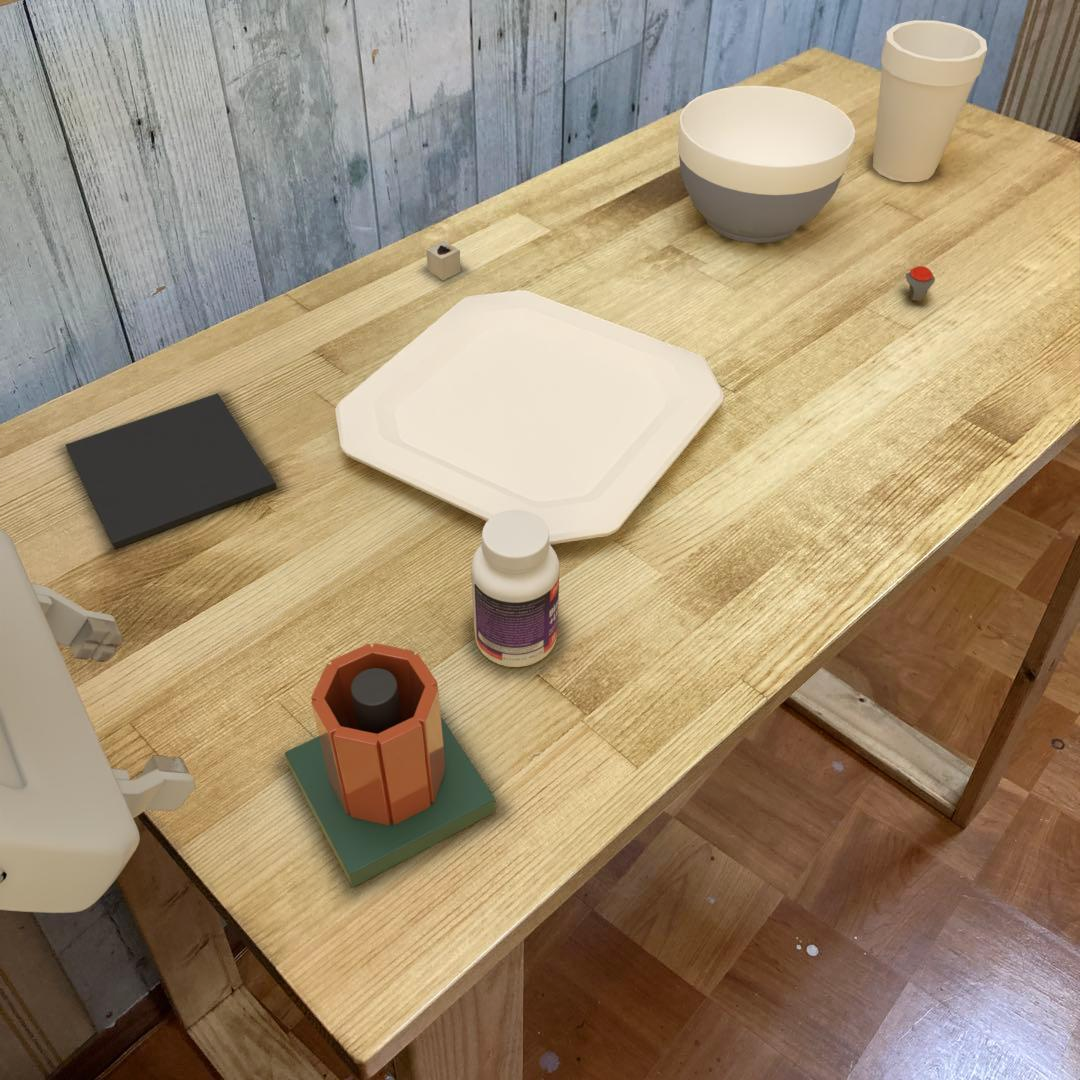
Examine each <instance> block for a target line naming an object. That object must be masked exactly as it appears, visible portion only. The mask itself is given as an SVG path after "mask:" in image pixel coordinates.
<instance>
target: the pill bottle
mask: <svg viewBox="0 0 1080 1080" xmlns="http://www.w3.org/2000/svg"><path fill="white" fill-rule="evenodd" d="M470 567H471V568H470V569H471V570H470V571H471V573H470V574H471V575H470V576H471V592H472V594H471V595H472V613H473V631H474V639H475V643H476V646H477V648H478V649H479V651H480V652H481V654H483V656H485V657H486V658H487V659H488V660H489V661H491V662H492V663H495V664H497V665H500V666H503V667H507V668H508V667H509V668H520V667H527V666H531V665H534V664H535V663H536V664H537V663H538V662H540V661H541V660H543V659H544V658H546V657H547V656H548V655H549V654H550V653H551V652H552V651H553V649H554V647H555V645H556V642H557V638H558V626H559V598H560V573H561V571H560V569H561V568H560V561H559V557H558V555H557V553H556V551H555V550H554V548H553V546H552V545H550V544H549V530H548V527H547V525H546V523H545V522H544V521H543V520H542V519H541V518H540V517H538V516H537V515H535V514H533V513H530V512H528V511H522V510H509V511H504V512H501V513H498V514H496V515H494V516H493V517H491V518H490V519H489V520H488V521H485V523H484V525H483V528H482V532H481V543H480V545H479V546H478V547H477V548H476V551H475V552H474V554H473V556H472V559H471V566H470Z"/></svg>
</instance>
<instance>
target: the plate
mask: <svg viewBox="0 0 1080 1080" xmlns="http://www.w3.org/2000/svg"><path fill="white" fill-rule="evenodd" d="M724 400H725V392H723V390H722V387H721V386H720V384H719V382H718V380H717V378H716V376H715V374H714V372H713V371H712V368H711V367H710V365H709V363H708V361H707V360H706V358H704V357H703V356H702V355H700V354H698V353H696V352H693V351H690V350H687V349H685V348H682V347H679V346H677V345H674V344H672V343H669V342H666V341H664V340H661V339H658V338H656V337H652V336H650V335H648V334H644V333H642V332H640V331H637V330H634V329H631V328H628V327H625V326H623V325H620V324H617V323H615V322H613V321H609V320H607V319H605V318H601V317H599V316H597V315H593V314H591V313H588V312H585V311H582V310H581V309H577V308H575V307H572V306H569V305H567V304H563V303H562V302H558V301H556V300H553V299H551V298H547V297H545V296H542V295H539V294H537V293H534V292H531V291H529V290H523V289H518V290H509V291H501V292H493V293H485V294H483V293H482V294H476V295H469V296H466V297H464V298H462V299H461V300H459V301H458V302H457V303H456V304H455V305H453V306H452V307H450V309H448V310H447V311H446V312H445V313H443V315H441V316H439V318H437V319H436V320H435V321H434V322H433V323H431V324H430V325H429V326H428V327H427V328H425V330H423V331H422V332H421V333H420V334H419V335H418V336H416V337H415V338H414V339H413V340H412V341H410V342H409V343H407V345H405V346H404V347H403V348H402V349H400V351H398V352H397V353H396V354H394V355H393V356H392V357H391V358H390V359H389V360H387V361H386V362H385V363H384V364H382V366H380V367H378V368H377V369H376V370H375V371H374V372H373V373H371V375H369V376H368V377H367V378H366V379H364V380H363V381H362V382H361V383H360V384H359V385H357V386H356V387H355V388H353V390H351V391H350V392H349V393H348V394H346V396H344V397H343V398H342V399H340V400H339V402H338V403H337V404H336V406H335V409H334V414H335V420H336V426H337V434H338V440H339V441H338V442H339V448H340V450H341V451H342V452H343V454H345V456H346V457H347V458H350V459H352V460H355V461H357V462H359V463H361V464H363V465H365V466H368V467H369V468H372V469H373V470H376V471H378V472H380V473H383V474H385V475H387V476H389V477H391V478H393V479H395V480H398V481H400V482H401V483H404V484H406V485H408V486H411V487H412V488H414V489H417V490H418V491H421V492H423V493H425V494H427V495H429V496H432V497H434V498H436V499H439V500H440V501H442V502H444V503H447V504H449V505H450V506H453V507H455V508H457V509H460V510H462V511H463V512H466V513H468V514H470V515H472V516H475V517H476V518H478V519H481V520H483V521H485V522H487V521H488V520H489V519H490V518H491V517H493V516H494V515H496V514H498V513H501V512H504V511H509V510H522V511H528V512H530V513H533V514H535V515H537V516H538V517H540V518H541V519H542V520H543V521H544V522H545V523H546V525H547V527H548V530H549V544H550V546H552V545H557V544H565V543H571V542H577V541H584V540H589V539H597V538H602V537H603V538H604V537H609V536H611V535H612V534H614V533H617V532H618V531H619V530H620V528H621V527H622V526H623V525H624V524H625V522H626V521H627V520H628V518H629V517H630V516H631V515H632V514H633V513H634V512H635V510H636V509H637V508H638V506H639V505H640V504H641V503H642V502H643V501H644V500H645V498H646V497H647V496H648V494H649V493H650V492H651V491H652V490H653V488H655V486H656V485H657V483H658V482H659V481H660V480H661V479H662V478H663V476H664V475H665V474H666V472H667V471H668V470H669V469H670V468H671V467H672V465H674V463H675V462H676V461H677V459H678V458H679V457H680V455H681V454H682V453H683V452H684V451H685V450H686V448H687V447H688V446H689V444H691V442H692V441H693V440H694V439H695V437H696V436H697V435H698V434H699V433H700V431H702V429H703V427H704V426H705V425H706V424H707V423H708V422H709V420H710V419H711V418H712V417H713V416H714V414H716V412H717V411H718V409H719V408H720V407H721V406H722V404H723V403H724Z"/></svg>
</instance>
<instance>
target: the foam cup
mask: <svg viewBox="0 0 1080 1080" xmlns="http://www.w3.org/2000/svg"><path fill="white" fill-rule="evenodd" d="M987 53H988V45H987V40H986V38H984V37H982V36H981V35H980V34H979V33H978V32H977V31H975V30H972V29H970V28H967V27H964V26H962V25H959V24H957V23H950V22H945V21H940V20H910V21H905V22H900V23H896V24H895V25H893V26H892V27H890V28H889V29H888V30H886V34H885V38H884V42H883V45H882V50H881V55H880V58H881V59H880V63H881V74H880V85H879V94H878V95H879V96H878V103H877V104H878V105H877V114H876V124H875V134H874V143H873V153H872V155H873V156H872V157H873V158H872V159H873V160H872V168H873V169H874V170H875V171H876V172H877V174H878V175H880V176H883V177H885V178H887V179H888V180H892V181H897V182H901V183H919V182H924V181H927V180H929V179H930V178H931V177H933V175H935V173H936V169H937V168H938V166H939V164H940V161H941V159H942V157H943V155H944V153H945V150H946V148H947V145H948V143H949V141H950V139H951V137H952V135H953V132H954V129H955V128H956V125H957V122H958V120H959V119H960V117H961V113H962V111H963V109H964V107H965V104H966V102H967V100H968V98H969V95H970V94H971V91H972V88H973V86H974V84H975V81H976V80H977V78H978V77H979V75H981V72H982V69H983V66H984V62H985V60H986V55H987Z"/></svg>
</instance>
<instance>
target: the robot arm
mask: <svg viewBox="0 0 1080 1080" xmlns="http://www.w3.org/2000/svg"><path fill="white" fill-rule="evenodd" d="M124 641H125V639H124V636H123V634H122V631H121V629H120V627H119V625H118V622H117V621H116V618H115V617H114V616H113V615H111V614H110V613H109V614H107V613H103V612H98V611H93V610H88V609H84V607H83V606H80V605H79V604H78V603H76V602H74V601H73V600H71V599H69V598H67V597H66V596H64V595H62V594H60V593H59V592H57V591H55V590H53V589H52V588H50V587H48V586H47V585H43V584H40V583H34V582H31V580H30V578H29V575H28V573H27V571H26V568H25V566H24V564H23V562H22V560H21V557H20V555H19V553H18V551H17V548H16V546H15V544H14V540H13V539H12V537H11V535H9V533H8V532H6V531H5V530H3V529H2V528H0V911H9V912H10V911H11V912H26V913H44V914H45V913H48V914H69V913H79V912H82V911H84V910H87V909H88V908H91V906H93V905H94V904H95V903H96V902H97V901H99V899H101V898H102V896H103V895H105V893H106V892H107V891H108V890H109V889H110V888H111V886H112V885H113V884H114V882H115V881H116V880H117V879H118V877H119V876H120V874H121V873H122V871H123V870H124V869H125V867H126V866H127V864H128V863H129V861H130V860H131V858H132V856H133V855H134V854H135V852H136V850H137V848H138V846H139V844H140V839H141V836H140V831H139V829H138V826H137V824H136V821H135V818H136V817H138V816H139V815H141V814H142V813H144V811H158V812H159V811H160V812H161V811H162V812H171V811H175V810H178V809H179V808H181V807H183V805H184V804H185V803H186V801H187V800H188V799H189V797H190V796H191V795H192V793H193V792H194V791H195V790H196V787H197V786H196V782H195V780H194V778H193V776H192V775H191V772H190V770H189V768H188V767H187V764H186V763H185V760H184V759H183V758H182V757H181V756H180V757H179V756H174V757H172V758H171V757H169V756H166V755H159V754H152V755H151V756H150V758H149V759H148V760H147V762H146V763H145V765H144V766H143V770H142V772H140V773H138V774H137V776H136V777H135V778H134V779H133V780H131V779H132V778H131V776H130V773H129V771H128V770H126V769H123V768H112V766H111V765H110V761H109V760H108V757H107V755H106V752H105V750H104V748H103V746H102V743H101V741H100V738H99V737H98V734H97V731H96V729H95V727H94V725H93V722H92V720H91V718H90V716H89V714H88V711H87V709H86V706H85V704H84V702H83V699H82V698H81V695H80V693H79V690H78V688H77V686H76V683H75V682H74V681H75V680H74V679H73V676H72V675H71V673H70V670H69V667H68V665H67V662H66V661H65V659H64V656H63V653H62V652H61V649H60V647H59V644H61V645H63V646H65V647H68V648H69V649H70V651H71V654H72V655H73V657H74V659H80V660H85V661H90V660H93V661H94V662H97V663H98V662H99V663H104V662H108V661H110V660H111V659H112V658H113V657H114V656H115V654H116V653H117V649H118V648H119V647H121V646H122V644H123V643H124Z"/></svg>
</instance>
